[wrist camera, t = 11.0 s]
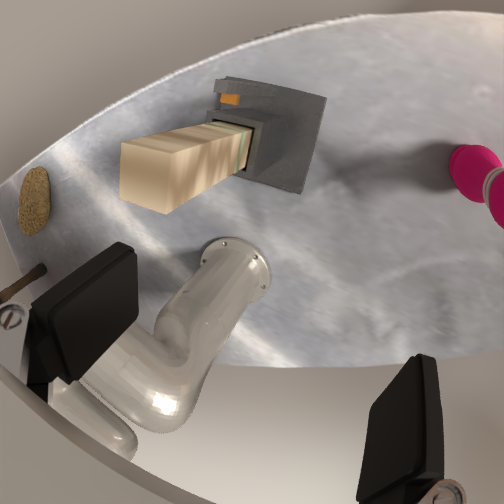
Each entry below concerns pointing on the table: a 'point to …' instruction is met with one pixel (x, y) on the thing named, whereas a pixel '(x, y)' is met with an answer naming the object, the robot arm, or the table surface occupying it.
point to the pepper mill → (479, 177)
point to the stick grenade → (22, 283)
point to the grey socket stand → (272, 129)
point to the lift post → (181, 163)
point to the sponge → (34, 201)
